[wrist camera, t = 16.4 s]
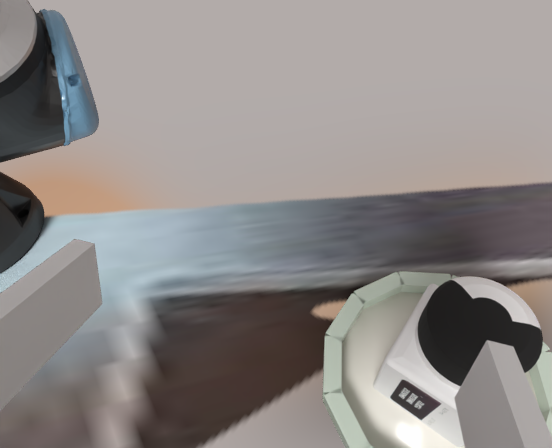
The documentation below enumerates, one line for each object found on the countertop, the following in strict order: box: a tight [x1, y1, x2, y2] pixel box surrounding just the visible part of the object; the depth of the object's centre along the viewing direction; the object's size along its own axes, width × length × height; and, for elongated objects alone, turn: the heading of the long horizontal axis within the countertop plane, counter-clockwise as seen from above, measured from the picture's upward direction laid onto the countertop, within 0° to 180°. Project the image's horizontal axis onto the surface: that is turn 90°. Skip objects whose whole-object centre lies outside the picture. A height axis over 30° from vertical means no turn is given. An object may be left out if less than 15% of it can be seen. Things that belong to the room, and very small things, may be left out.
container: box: [373, 276, 543, 447], centre depth 28 cm, size 8×8×13 cm
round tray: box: [323, 271, 552, 448], centre depth 33 cm, size 19×19×2 cm
